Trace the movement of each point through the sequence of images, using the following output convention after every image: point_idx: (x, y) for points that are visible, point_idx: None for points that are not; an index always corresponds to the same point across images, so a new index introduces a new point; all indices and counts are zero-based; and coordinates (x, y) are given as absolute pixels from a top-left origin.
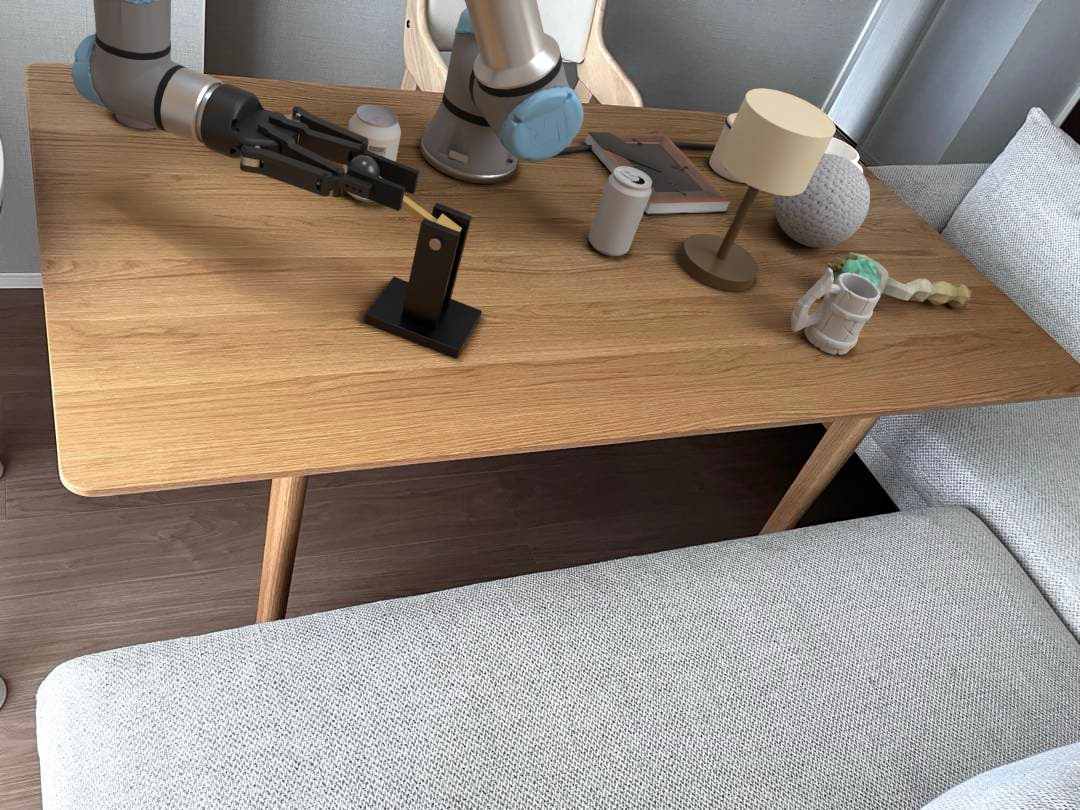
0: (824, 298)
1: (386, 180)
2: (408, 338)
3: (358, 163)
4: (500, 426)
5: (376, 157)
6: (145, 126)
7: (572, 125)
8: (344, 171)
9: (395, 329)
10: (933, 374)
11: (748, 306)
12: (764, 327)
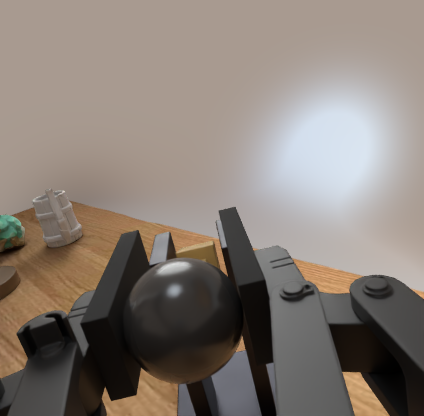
0: (51, 216)
1: (227, 226)
2: None
3: (209, 273)
4: (338, 285)
5: (114, 289)
6: None
7: None
8: (285, 282)
9: None
10: (80, 216)
11: (39, 268)
12: (65, 256)
